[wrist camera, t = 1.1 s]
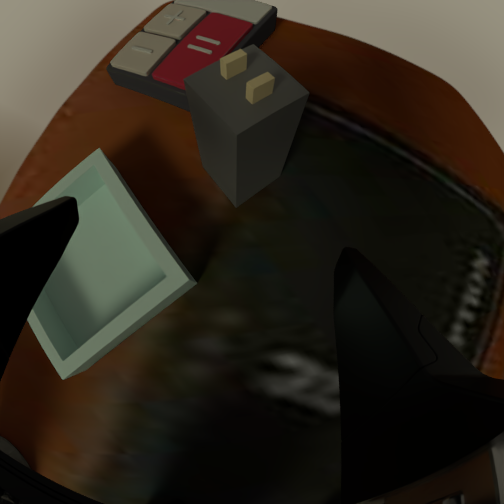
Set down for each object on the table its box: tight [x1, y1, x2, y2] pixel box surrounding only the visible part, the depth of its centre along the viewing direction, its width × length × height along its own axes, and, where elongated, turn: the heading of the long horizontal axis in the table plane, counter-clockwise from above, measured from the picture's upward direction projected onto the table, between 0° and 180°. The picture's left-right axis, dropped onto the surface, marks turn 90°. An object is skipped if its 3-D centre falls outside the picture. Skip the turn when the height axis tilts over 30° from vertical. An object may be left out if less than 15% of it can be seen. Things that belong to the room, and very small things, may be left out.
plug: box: [183, 44, 309, 208], centre depth 18 cm, size 4×4×12 cm
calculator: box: [107, 0, 277, 112], centre depth 24 cm, size 11×4×15 cm
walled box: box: [27, 148, 197, 380], centre depth 20 cm, size 12×12×4 cm
